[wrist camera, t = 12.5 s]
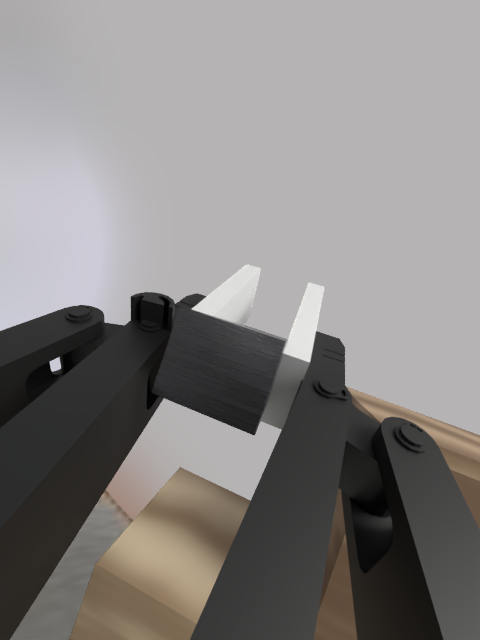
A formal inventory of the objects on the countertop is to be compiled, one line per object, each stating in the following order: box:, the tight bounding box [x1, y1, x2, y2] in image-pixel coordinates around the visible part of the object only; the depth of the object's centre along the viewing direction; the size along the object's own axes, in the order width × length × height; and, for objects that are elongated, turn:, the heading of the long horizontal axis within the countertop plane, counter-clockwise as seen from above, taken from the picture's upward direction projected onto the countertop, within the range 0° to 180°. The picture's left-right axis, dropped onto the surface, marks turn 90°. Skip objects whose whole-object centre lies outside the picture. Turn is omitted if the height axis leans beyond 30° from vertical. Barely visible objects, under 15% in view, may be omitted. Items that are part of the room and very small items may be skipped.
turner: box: [151, 306, 288, 435], centre depth 16 cm, size 21×9×2 cm, turn 169°
